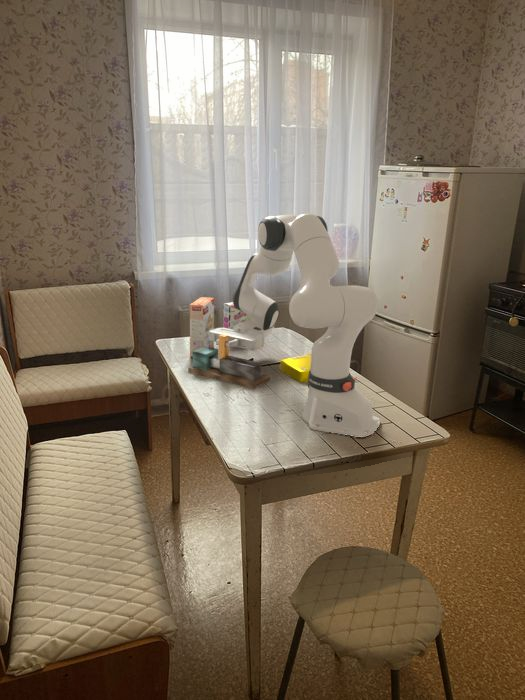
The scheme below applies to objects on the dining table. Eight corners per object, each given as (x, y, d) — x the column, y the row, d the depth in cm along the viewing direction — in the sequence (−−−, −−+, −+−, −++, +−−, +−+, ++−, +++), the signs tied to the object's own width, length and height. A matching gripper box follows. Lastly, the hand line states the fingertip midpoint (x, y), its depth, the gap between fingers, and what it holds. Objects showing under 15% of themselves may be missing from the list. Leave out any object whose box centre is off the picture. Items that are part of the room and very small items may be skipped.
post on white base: (235, 368, 183) (235, 336, 180) (230, 371, 181) (230, 338, 177) (208, 362, 189) (207, 330, 185) (203, 364, 187) (202, 332, 183)
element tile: (310, 363, 199) (311, 352, 197) (336, 376, 187) (337, 364, 185) (278, 370, 191) (278, 358, 190) (302, 384, 179) (302, 371, 178)
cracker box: (204, 358, 200) (203, 305, 194) (189, 357, 201) (188, 304, 195) (215, 347, 213) (214, 297, 207) (200, 346, 214) (200, 296, 208)
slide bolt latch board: (269, 379, 181) (270, 359, 179) (254, 389, 173) (254, 367, 171) (205, 363, 195) (205, 344, 192) (188, 371, 187) (187, 351, 184)
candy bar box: (229, 344, 218) (229, 305, 213) (222, 341, 222) (222, 303, 217) (250, 339, 225) (251, 302, 220) (243, 336, 229) (244, 299, 223)
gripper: (221, 321, 196) (198, 330, 185) (268, 330, 186) (246, 340, 175) (221, 337, 198) (198, 347, 187) (267, 347, 188) (246, 358, 177)
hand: (222, 344), depth 181 cm, fingers closed on post on white base, 2 cm apart
